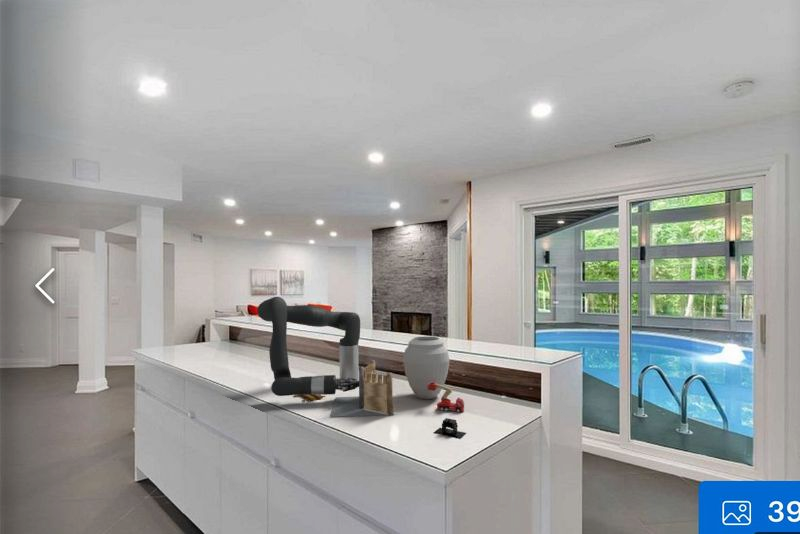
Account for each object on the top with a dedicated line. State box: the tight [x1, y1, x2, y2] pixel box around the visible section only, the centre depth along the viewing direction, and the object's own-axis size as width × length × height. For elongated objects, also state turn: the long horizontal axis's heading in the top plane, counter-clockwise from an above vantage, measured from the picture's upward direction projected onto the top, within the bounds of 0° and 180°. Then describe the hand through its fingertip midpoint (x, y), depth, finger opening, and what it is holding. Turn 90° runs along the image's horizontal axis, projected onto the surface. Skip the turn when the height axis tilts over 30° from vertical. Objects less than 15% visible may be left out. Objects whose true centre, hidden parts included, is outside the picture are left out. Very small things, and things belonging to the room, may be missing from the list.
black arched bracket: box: [433, 417, 467, 440], centre depth 127 cm, size 12×7×5 cm, turn 60°
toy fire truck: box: [428, 382, 465, 413], centre depth 149 cm, size 3×14×10 cm, turn 71°
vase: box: [402, 336, 450, 400], centre depth 166 cm, size 20×20×24 cm
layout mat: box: [330, 395, 395, 418], centre depth 154 cm, size 24×23×1 cm
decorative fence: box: [292, 394, 326, 403], centre depth 172 cm, size 25×2×10 cm
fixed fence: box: [358, 365, 394, 417], centre depth 148 cm, size 15×2×16 cm, turn 59°
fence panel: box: [364, 359, 376, 406], centre depth 160 cm, size 16×2×14 cm, turn 169°
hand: (366, 383), depth 161 cm, fingers closed
